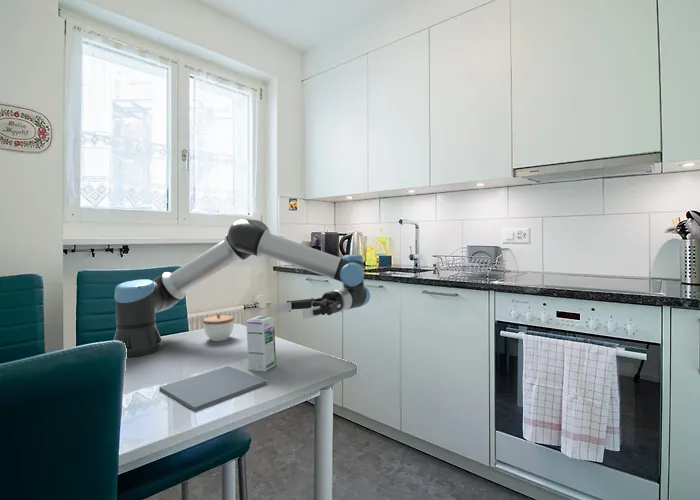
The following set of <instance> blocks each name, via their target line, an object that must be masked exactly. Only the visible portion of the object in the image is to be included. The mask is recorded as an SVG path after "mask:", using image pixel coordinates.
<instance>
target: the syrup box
mask: <svg viewBox="0 0 700 500" xmlns="http://www.w3.org/2000/svg"><path fill="white" fill-rule="evenodd" d="M275 330H276V329H275V316H271V315H257V316H254V317H252V318H248V319H246V341H247V342H246V344H247V346H246V347H247V361H248V362H247V363H248V370H250V371H255V372H264V373H265V372H267V371H268V370H270V369H272V368H274V367H275V366H277V356H276V355H277V354H276V353H277V351H276V336H275V335H276V333H275Z"/></svg>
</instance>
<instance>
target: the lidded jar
mask: <svg viewBox="0 0 700 500" xmlns="http://www.w3.org/2000/svg"><path fill="white" fill-rule="evenodd" d="M234 320H235V319H234V316H232V315H228V314H227V315H226V314H225V315H221V313H216V315H212V316H208V317H204V319H203V321H202V324H203V329H204V334H205V335H206V337H207V338H208V339H210V341H212V342H222V341H226V340H228V339H229V337H230V336H231V334H232V333H233V330H234Z"/></svg>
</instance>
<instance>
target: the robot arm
mask: <svg viewBox="0 0 700 500" xmlns="http://www.w3.org/2000/svg"><path fill="white" fill-rule="evenodd" d="M251 256H256V257H259V258H260V257H262V256H265V257H268V258H271V259H274V260H277V261H279V262H283V263H285V264H289V265H292V266H293V267H296V268H297V267H298V268H300V269H304V270H306V271H309V272H312V273H315V274H319V275H320V276H324V277H326V278H330V279H333V280H334V281H335V280H336V281H338V282H341V283H342V285H343V288H342V289H341V288H340V289H337V290H331V291H326V292H324V293H323V294H322V296H321V297H317V298H313V297H311V298H307V299H306V298H305V299H296V300H295V299H294V300H287V301H286V302H284V303H280V304H273V313H274V314H275V315H277V314H281V313H286V312H289V313H291V311H292V310H302V319H303V320H306V319H310V318H314V317H318V316H321V315H322V316H325V315H326V316H327V315H328V316H331V315H333V314H336V313H344V311H348V310H353V309H355V308H361V307H363V306H365V305H367V304H368V303H369V302H370V299H371V292H370V291H369V289H368V288H367V286H366V285H365V284H364V283H365V282H364V281H365V279H364V277H365V271H364V258H363V257H364V256H363V255H362V254H345V255H343V256H342V257H339V256H337V255H333V254H330V253H328V252H325V251H322V250H319V249H317V248H313V247H310V246H307V245H306V244H305V245H304V244H301V243H299V242H296V241H293V240H290V239H288V238H284V237H282V236H279V235H276V234H273V233H271V231H270V228H269V227H268V226H267V224H266V223H264V222H263V221H262V220H258V219H249V218H241V219H238V220H236V221H234V222H233V223H232V224H231V225H230V227H229V229H228V231H227V232H226V233H225V236H224V239H223V240H222V241H220V242H219V243H216V244H214V246H212V247H210V248H209V249H208V250H206V251H204V252H203V253H201V254H200V255H198V256H196V257H195V258H193V259H192V260H190V261H189V262H187V263H185V264H183V266H180V267H179V268H177V269H176V270H175V271H172V272H169V271H165V272H162V274H160V275H158V276H157V277H156V278H153V279H152V280H151V279H147V278H145V279H134V280H128V281H124V282H122V283H118V285H116V286H115V289H114V296H113V298H114V299H113V300H114V304H115V305H114V307H115V309H114V310H115V325H116V326H115V328H116V331H115V333H114V337H113V340H120V341H123V342H124V343H125V345H126V348H127V357H126V358H133V357H139V356H144V355H150V354H152V353H153V354H154V353H155V352H158V351H160V350H162V349H163V340H162V337H161V335H160V332H159V329H158V328H157V322H156V321H157V320H156V314H157V313H160V312H163V311H167V310H170V309H172V308H173V307H174V306H175V305H177V304H178V303H179V301H182V300H183V299H184V298H185V297H186V292H188V291H189V290H191V289H192V288H194V287H196V286H198V285H199V284H201V283H202V282H204V281H205V280H207V279H208V278H210V277H212V276H214V274H216V273H218V272H220V271H221V270H223V269H224V268H227V266H229V265H231V264H233V262H235V261H237V260H241V261H244V260H246V259H247V258H249V257H251Z"/></svg>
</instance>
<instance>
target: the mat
mask: <svg viewBox="0 0 700 500" xmlns="http://www.w3.org/2000/svg"><path fill="white" fill-rule="evenodd" d="M267 384H268V380H266V379H263V378H261V377H260V376H259V377H258V376H256V375H253V374H250V373H248V372H245V371H243V370H240V369H237V368H235V367H233V366H230V365H227V366H223V367H219V368H217V369H214V370H211V371H207V372H205V373H201V374H198V375H193V376H192V377H188V378H185V379H181V380H177V381H174V382H171V383H168V384H166V385H162V386H159V391H160V392H162V393H163V394H165V395H167V396H168V397H171V398H172V399H174V400H175V401H177V402H179V403H181V404H182V405H184V406H186V407H187V408H189V409H191V410H192V411H194V412H195V411H199V410H201V409H203V408H207V407H209V406H212V405H215V404H217V403H220V402H223V401H225V400H227V399H231V398H233V397H235V396H238V395H241V394H244V393H246V392H249V391H251V390H255V389H257V388H260V387H263V386H264V385H267Z"/></svg>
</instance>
